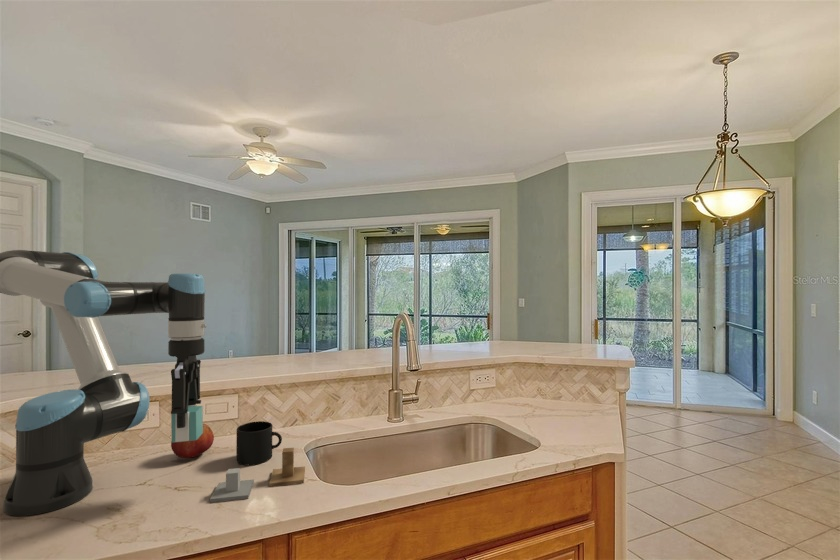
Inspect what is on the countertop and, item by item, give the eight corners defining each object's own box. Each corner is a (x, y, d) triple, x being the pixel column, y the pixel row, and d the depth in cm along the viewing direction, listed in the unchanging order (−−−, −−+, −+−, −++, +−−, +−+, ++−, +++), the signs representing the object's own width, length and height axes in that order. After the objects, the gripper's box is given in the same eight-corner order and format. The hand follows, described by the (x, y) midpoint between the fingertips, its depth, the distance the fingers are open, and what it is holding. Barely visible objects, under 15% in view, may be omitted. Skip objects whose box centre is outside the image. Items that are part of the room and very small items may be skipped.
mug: (280, 462, 115) (280, 429, 116) (233, 467, 112) (233, 433, 113) (282, 449, 125) (283, 419, 125) (239, 453, 122) (239, 422, 122)
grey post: (210, 502, 94) (210, 480, 94) (218, 486, 102) (219, 465, 102) (248, 498, 96) (248, 476, 96) (253, 482, 104) (254, 462, 104)
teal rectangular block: (171, 442, 96) (171, 413, 97) (179, 434, 101) (179, 407, 102) (196, 440, 98) (195, 411, 98) (202, 432, 103) (202, 405, 103)
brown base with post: (269, 486, 102) (269, 457, 102) (273, 472, 110) (273, 445, 110) (303, 483, 103) (303, 454, 104) (305, 469, 111) (305, 442, 111)
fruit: (215, 447, 126) (216, 414, 126) (210, 460, 117) (211, 424, 117) (175, 452, 123) (176, 417, 123) (167, 466, 113) (167, 428, 113)
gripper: (191, 342, 92) (191, 449, 91) (214, 333, 110) (214, 423, 109) (153, 343, 90) (153, 452, 90) (182, 334, 108) (182, 425, 108)
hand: (186, 436), depth 99 cm, fingers closed on teal rectangular block, 5 cm apart
